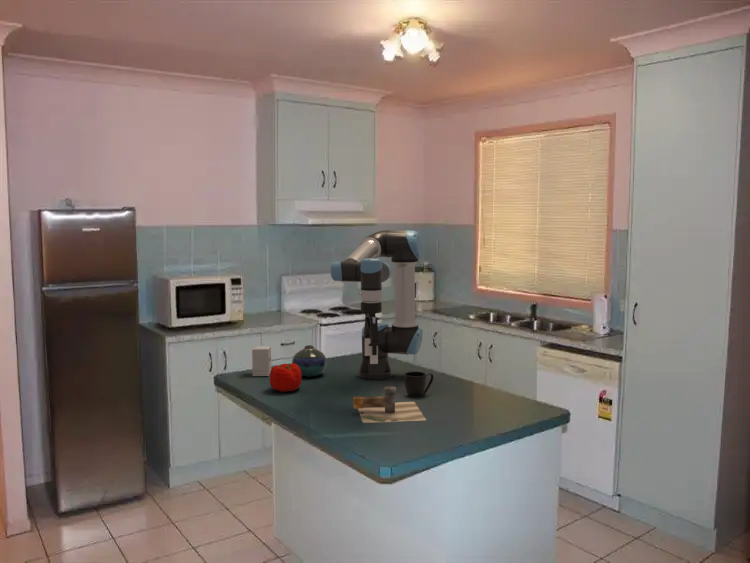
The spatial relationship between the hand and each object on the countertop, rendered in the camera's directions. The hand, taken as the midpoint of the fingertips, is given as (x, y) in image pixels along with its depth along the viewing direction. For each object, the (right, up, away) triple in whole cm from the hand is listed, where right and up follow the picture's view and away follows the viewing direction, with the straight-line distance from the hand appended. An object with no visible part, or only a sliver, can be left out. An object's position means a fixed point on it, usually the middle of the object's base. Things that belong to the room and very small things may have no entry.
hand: (371, 359), depth 233 cm
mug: (+19, -17, +20) cm, 32 cm away
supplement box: (-49, -14, +54) cm, 74 cm away
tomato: (-35, -16, +30) cm, 49 cm away
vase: (-28, -14, +54) cm, 62 cm away
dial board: (+7, -20, -3) cm, 21 cm away
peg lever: (+1, -18, -4) cm, 19 cm away
